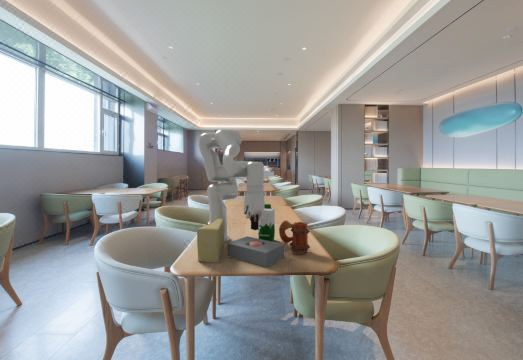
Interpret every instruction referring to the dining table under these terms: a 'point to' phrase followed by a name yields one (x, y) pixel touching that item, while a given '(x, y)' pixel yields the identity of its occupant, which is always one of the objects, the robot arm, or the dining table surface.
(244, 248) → the box
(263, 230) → the milk carton
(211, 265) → the dining table surface
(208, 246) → the cheese
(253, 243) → the call button
